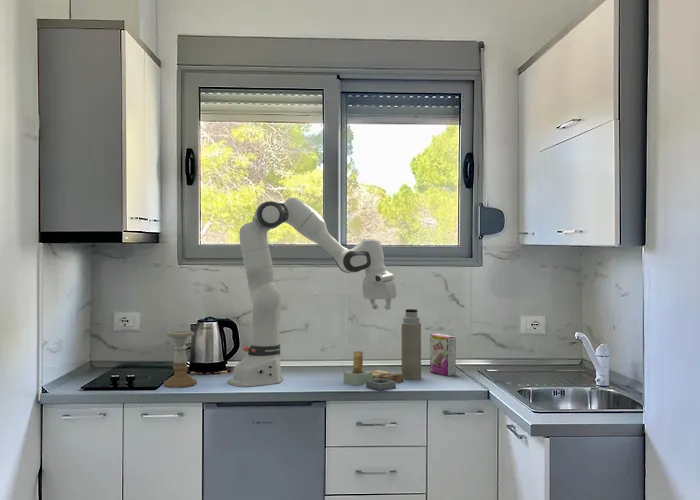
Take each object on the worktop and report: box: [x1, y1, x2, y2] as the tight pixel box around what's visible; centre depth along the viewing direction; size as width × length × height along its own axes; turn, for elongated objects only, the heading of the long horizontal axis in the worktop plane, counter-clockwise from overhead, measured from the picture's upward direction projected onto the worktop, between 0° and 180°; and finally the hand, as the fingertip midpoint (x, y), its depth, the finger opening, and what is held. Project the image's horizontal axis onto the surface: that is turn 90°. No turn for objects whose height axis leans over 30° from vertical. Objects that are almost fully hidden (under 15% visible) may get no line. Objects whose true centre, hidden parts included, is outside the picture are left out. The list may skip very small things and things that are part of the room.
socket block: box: [343, 370, 372, 386], centre depth 244 cm, size 8×8×4 cm
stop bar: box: [380, 372, 405, 384], centre depth 244 cm, size 10×3×3 cm, turn 131°
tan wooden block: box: [370, 369, 392, 380], centre depth 251 cm, size 9×7×3 cm
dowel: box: [352, 350, 364, 374], centre depth 244 cm, size 4×4×12 cm
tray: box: [365, 378, 397, 392], centre depth 234 cm, size 8×8×2 cm
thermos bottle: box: [401, 308, 422, 380], centre depth 254 cm, size 8×8×28 cm
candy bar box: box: [429, 333, 457, 377], centre depth 262 cm, size 11×5×16 cm, turn 34°
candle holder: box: [163, 330, 197, 388], centre depth 240 cm, size 12×12×20 cm
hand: (381, 309), depth 259 cm, fingers open, 8 cm apart
